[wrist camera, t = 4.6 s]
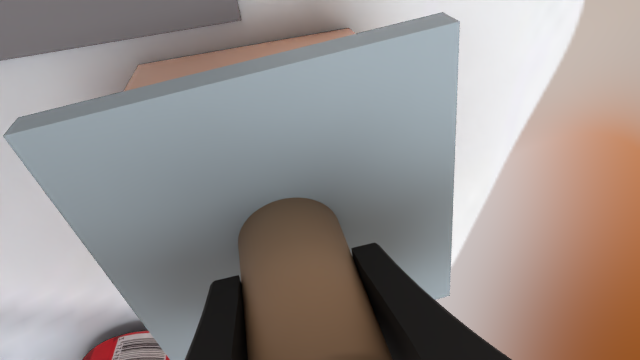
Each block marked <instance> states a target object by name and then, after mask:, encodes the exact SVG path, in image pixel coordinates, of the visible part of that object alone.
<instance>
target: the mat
mask: <svg viewBox="0 0 640 360" xmlns="http://www.w3.org/2000/svg"><path fill="white" fill-rule="evenodd" d="M240 20H241V16H240V12H239V7H238V2H237V0H0V61H1V60H7V59H13V58H19V57H25V56H31V55H37V54H43V53H49V52H55V51H61V50H67V49H73V48H79V47H85V46H91V45H97V44H103V43H109V42H115V41H121V40H126V39H132V38H138V37H144V36H150V35H156V34H162V33H168V32H174V31H180V30H186V29H192V28H198V27H204V26H210V25H216V24H222V23H228V22H234V21H240Z"/></svg>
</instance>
